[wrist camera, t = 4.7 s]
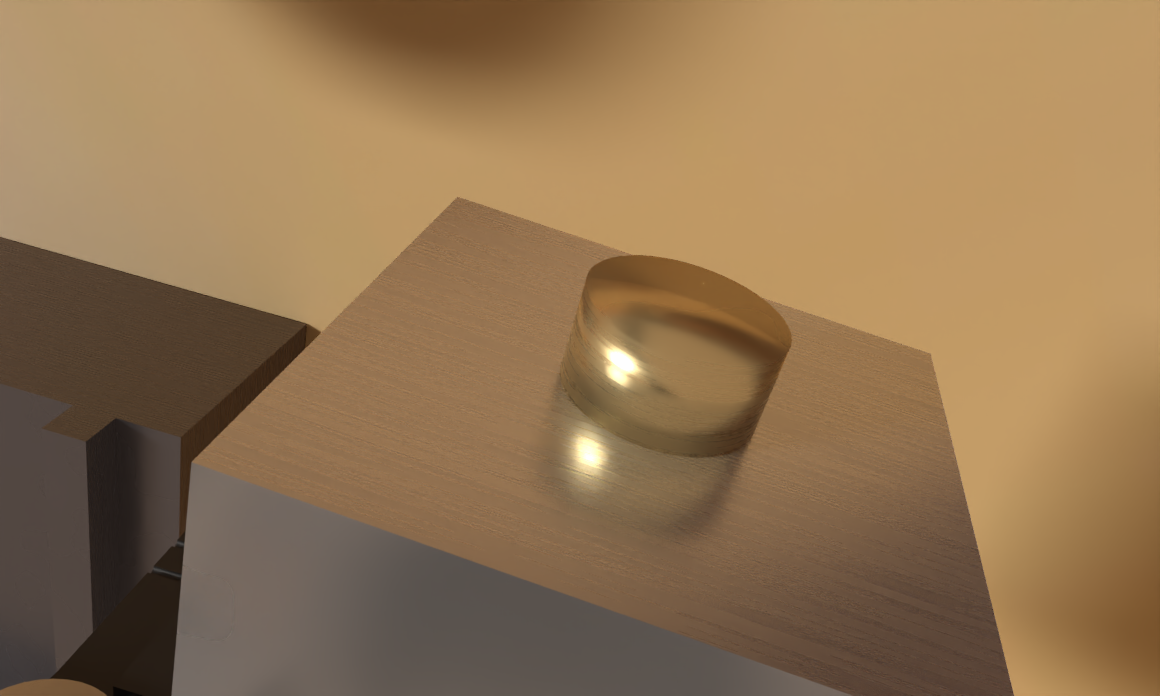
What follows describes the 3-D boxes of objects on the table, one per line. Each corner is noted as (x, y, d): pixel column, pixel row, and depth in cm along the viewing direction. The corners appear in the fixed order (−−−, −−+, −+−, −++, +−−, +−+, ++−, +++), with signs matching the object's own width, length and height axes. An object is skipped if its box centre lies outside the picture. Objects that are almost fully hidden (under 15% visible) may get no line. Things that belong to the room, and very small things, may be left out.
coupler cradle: (-100, 209, 27) (-442, 335, 20) (306, 323, 26) (107, 503, 19) (-58, 545, 33) (-313, 744, 25) (279, 651, 32) (117, 892, 24)
